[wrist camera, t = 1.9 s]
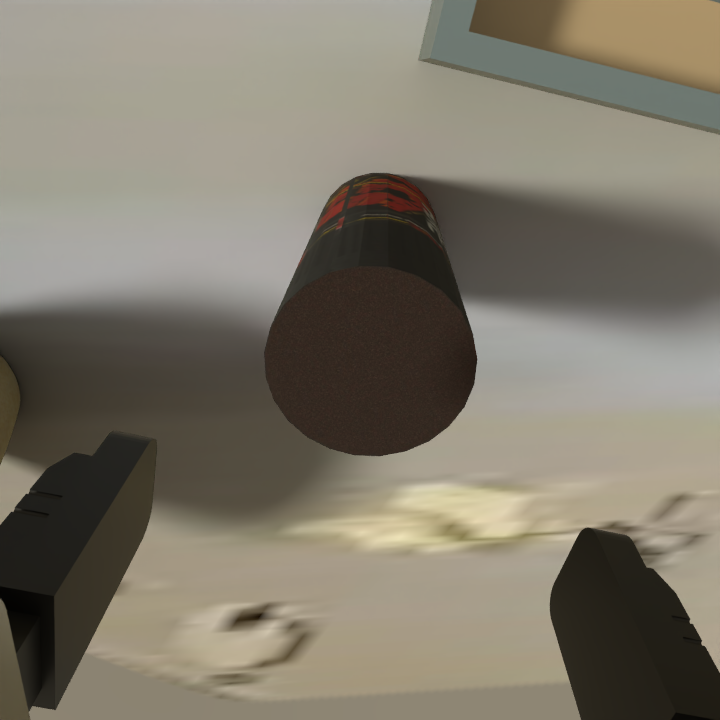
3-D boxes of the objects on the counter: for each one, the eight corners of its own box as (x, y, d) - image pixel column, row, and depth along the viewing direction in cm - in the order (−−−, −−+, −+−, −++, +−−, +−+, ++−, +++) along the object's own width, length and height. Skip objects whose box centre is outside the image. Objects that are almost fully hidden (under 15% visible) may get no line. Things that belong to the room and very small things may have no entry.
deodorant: (461, 225, 30) (522, 355, 16) (385, 311, 32) (383, 488, 19) (368, 146, 28) (352, 218, 15) (295, 242, 31) (223, 380, 17)
